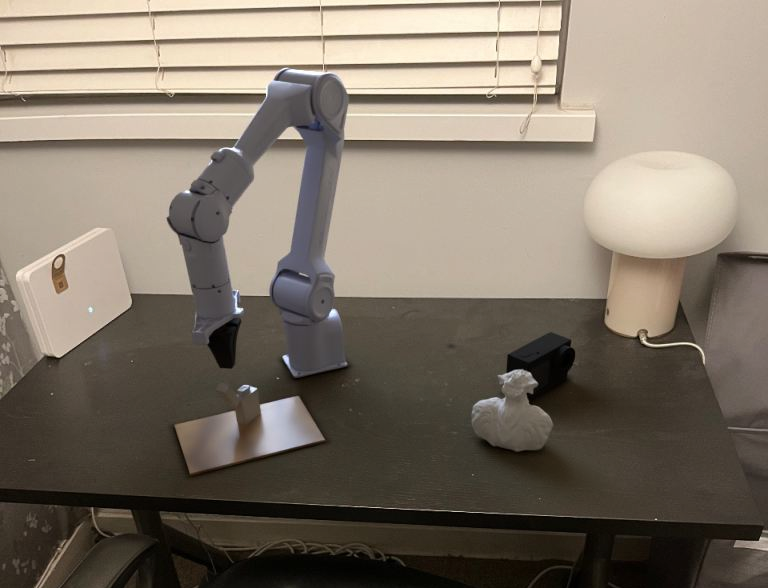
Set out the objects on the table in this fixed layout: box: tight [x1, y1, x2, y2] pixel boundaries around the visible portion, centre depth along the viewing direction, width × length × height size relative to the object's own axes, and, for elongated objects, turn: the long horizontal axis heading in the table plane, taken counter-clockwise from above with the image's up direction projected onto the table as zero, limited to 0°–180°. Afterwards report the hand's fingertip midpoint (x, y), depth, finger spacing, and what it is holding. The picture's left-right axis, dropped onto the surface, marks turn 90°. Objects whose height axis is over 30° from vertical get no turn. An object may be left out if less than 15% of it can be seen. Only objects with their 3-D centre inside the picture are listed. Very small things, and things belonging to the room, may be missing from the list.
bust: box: [470, 369, 554, 453], centre depth 109 cm, size 12×8×11 cm, turn 62°
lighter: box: [215, 381, 261, 425], centre depth 115 cm, size 7×2×8 cm, turn 150°
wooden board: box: [173, 395, 326, 477], centre depth 116 cm, size 20×14×1 cm
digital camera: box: [505, 331, 576, 401], centre depth 120 cm, size 10×5×7 cm, turn 132°
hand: (227, 366), depth 118 cm, fingers closed
